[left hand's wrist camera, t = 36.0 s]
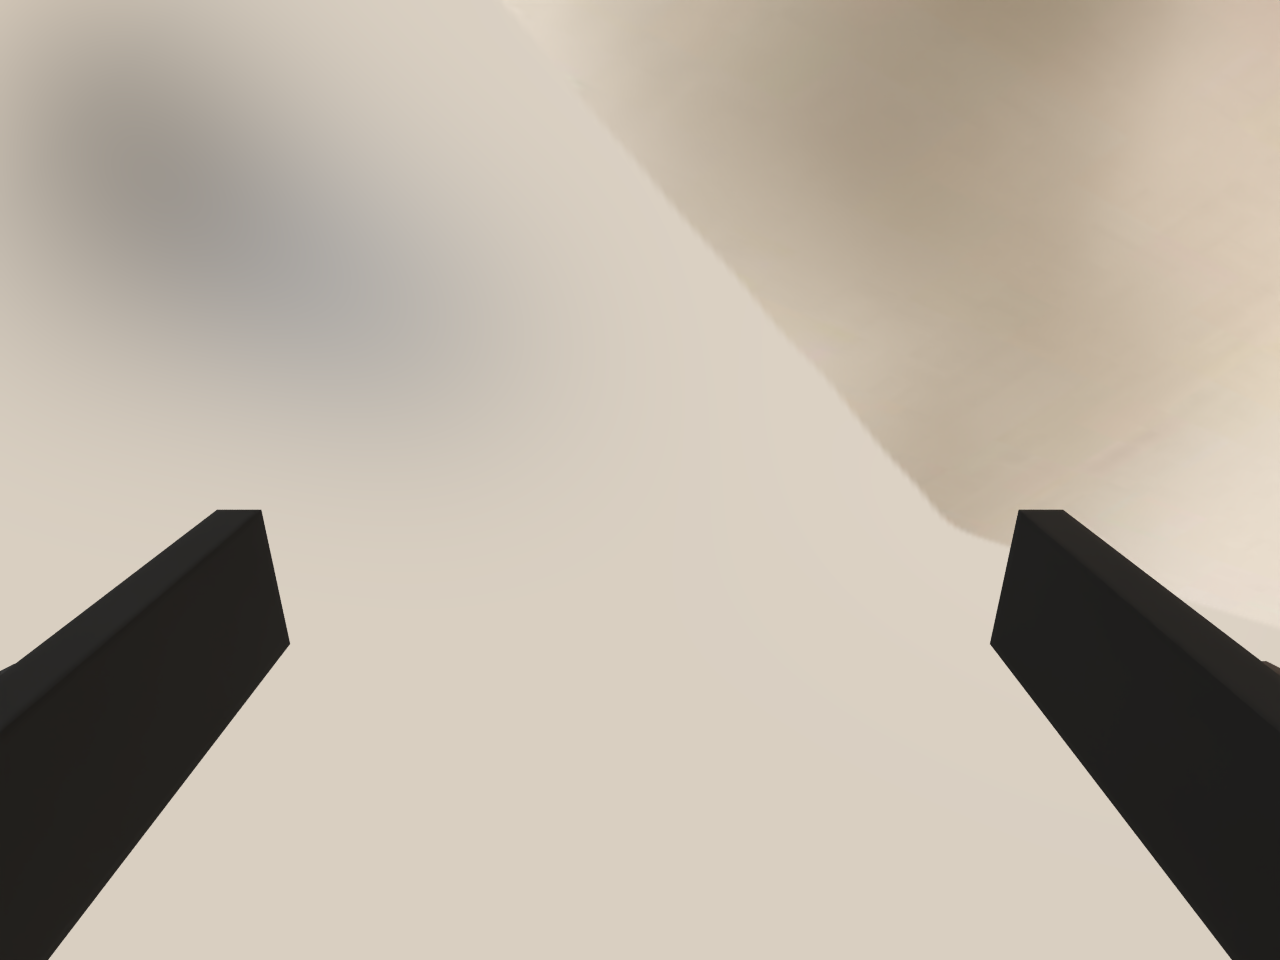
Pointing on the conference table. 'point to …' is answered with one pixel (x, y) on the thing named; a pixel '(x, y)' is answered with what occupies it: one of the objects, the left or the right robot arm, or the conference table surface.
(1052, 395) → the conference table surface
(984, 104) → the conference table surface
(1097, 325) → the conference table surface
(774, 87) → the conference table surface
